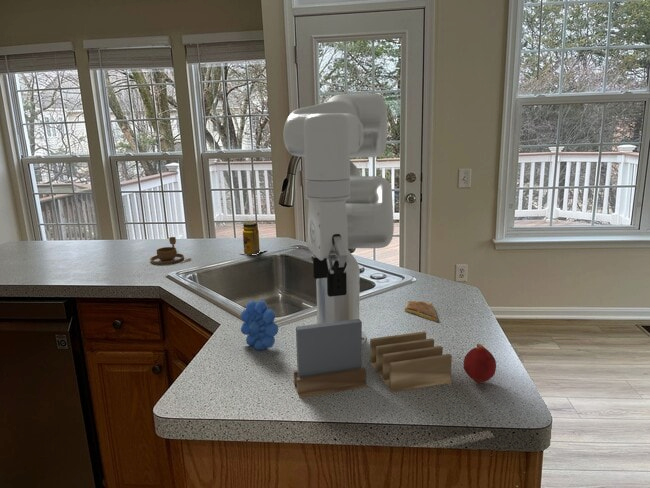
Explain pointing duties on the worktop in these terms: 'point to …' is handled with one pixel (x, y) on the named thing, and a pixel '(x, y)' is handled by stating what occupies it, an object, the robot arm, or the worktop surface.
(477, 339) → the worktop surface
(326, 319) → the robot arm
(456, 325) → the worktop surface
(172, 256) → the place setting
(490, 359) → the onion
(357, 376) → the plate stand
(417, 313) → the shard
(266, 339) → the grapes
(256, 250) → the condiment
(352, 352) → the plate
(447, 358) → the rack
